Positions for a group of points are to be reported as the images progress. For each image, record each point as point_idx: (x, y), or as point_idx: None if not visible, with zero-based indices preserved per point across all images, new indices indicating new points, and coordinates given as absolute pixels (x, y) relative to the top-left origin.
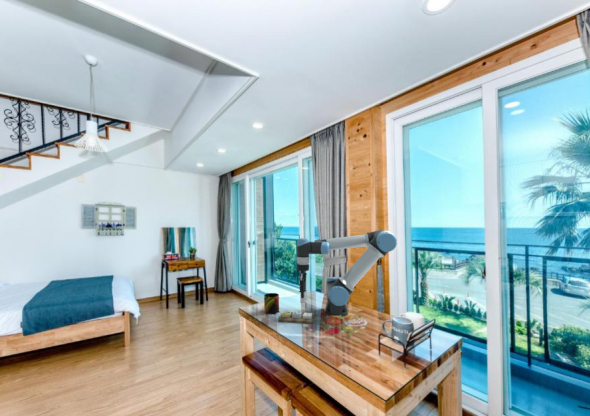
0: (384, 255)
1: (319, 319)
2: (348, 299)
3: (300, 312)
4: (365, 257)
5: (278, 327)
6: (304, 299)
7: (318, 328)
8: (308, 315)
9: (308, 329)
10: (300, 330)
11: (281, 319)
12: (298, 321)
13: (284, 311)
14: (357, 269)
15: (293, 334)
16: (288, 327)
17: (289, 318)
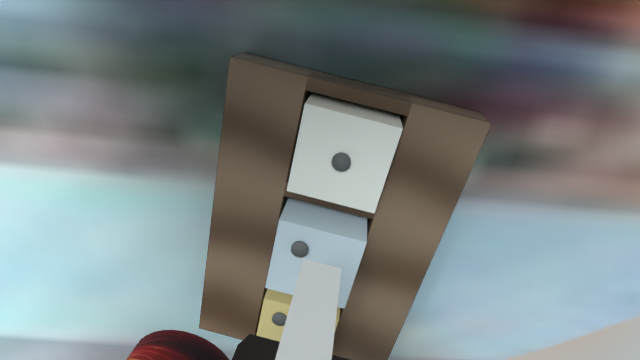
0: None
1: (313, 5)
2: None
3: (313, 234)
4: None
5: (443, 351)
6: (336, 314)
7: (556, 47)
8: (379, 154)
9: (548, 150)
10: (547, 218)
11: (380, 357)
12: (437, 241)
13: None
14: None
15: (608, 274)
16: (459, 294)
17: (367, 305)
